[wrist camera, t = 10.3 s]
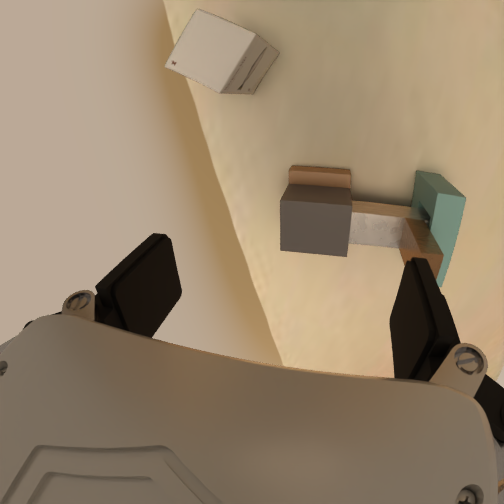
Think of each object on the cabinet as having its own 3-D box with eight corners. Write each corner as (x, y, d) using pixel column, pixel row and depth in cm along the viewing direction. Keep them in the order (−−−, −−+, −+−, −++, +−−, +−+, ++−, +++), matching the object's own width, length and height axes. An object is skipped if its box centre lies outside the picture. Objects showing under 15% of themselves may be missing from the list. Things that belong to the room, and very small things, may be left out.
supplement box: (253, 96, 35) (218, 97, 24) (209, 71, 34) (160, 66, 24) (282, 53, 31) (258, 33, 20) (235, 29, 30) (194, 6, 20)
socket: (416, 170, 34) (437, 192, 26) (440, 174, 33) (466, 197, 25) (403, 247, 40) (415, 285, 32) (425, 250, 39) (441, 287, 31)
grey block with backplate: (291, 165, 39) (280, 184, 31) (349, 169, 37) (353, 190, 29) (291, 230, 44) (280, 263, 36) (344, 235, 42) (344, 269, 34)
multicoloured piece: (330, 198, 35) (327, 243, 25) (433, 210, 32) (465, 257, 22) (328, 227, 37) (323, 279, 27) (427, 237, 34) (453, 291, 24)
